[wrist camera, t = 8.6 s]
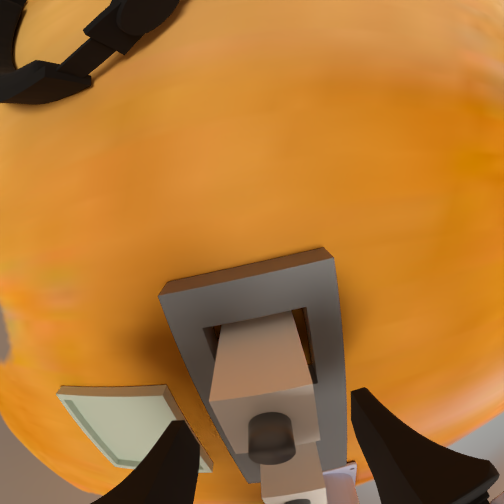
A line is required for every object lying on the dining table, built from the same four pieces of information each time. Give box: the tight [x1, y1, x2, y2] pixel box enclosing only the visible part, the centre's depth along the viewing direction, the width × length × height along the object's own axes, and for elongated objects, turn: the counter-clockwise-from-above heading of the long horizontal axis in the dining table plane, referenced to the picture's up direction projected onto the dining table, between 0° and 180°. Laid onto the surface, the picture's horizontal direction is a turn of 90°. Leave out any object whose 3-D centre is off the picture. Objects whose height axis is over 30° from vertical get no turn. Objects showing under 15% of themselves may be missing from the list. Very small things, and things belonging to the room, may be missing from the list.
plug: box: [209, 310, 320, 465], centre depth 13 cm, size 4×4×9 cm
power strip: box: [158, 247, 347, 504], centre depth 14 cm, size 20×9×9 cm, turn 13°
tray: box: [56, 385, 213, 473], centre depth 19 cm, size 11×11×1 cm
